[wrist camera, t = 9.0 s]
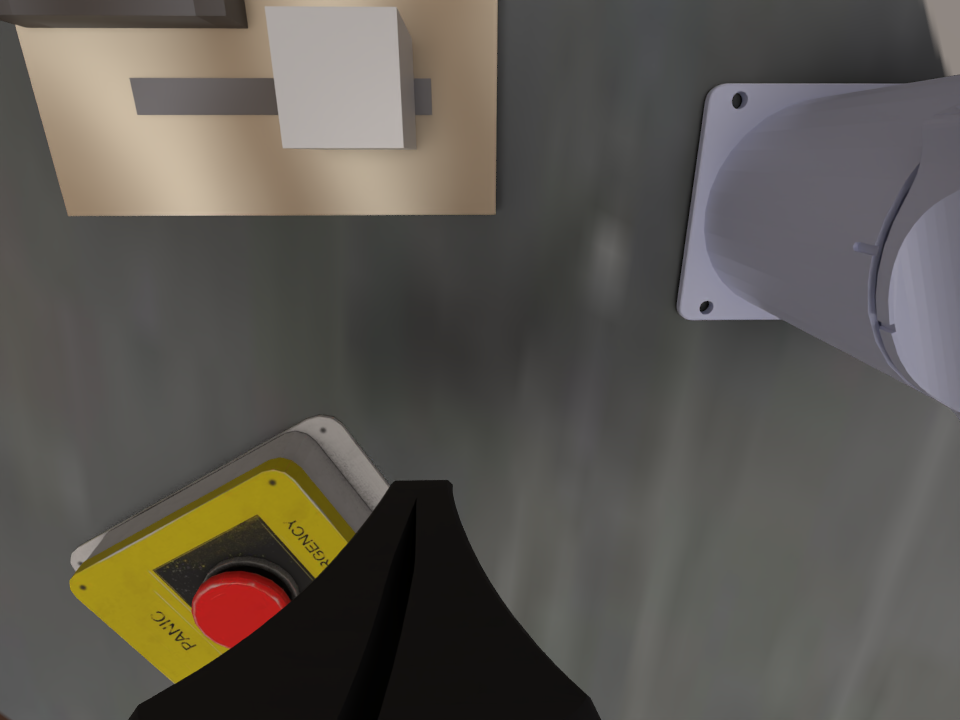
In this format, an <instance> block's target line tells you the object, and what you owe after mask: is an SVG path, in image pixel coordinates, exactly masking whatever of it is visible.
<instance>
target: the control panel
mask: <svg viewBox="0 0 960 720" xmlns="http://www.w3.org/2000/svg"><path fill="white" fill-rule="evenodd" d="M265 6H308V7H397V9H398V11H399V13H400V15H401V17H402V19H403V21H404V23H405V25H406V27H407V29H408V32H409V34H410V36H411V38H412V51H413V75H414V99H415V123H416V147H417V150H313V149H289V148H283V146H282V138H281V131H280V123H279V115H278V107H277V99H276V92H275V84H274V76H273V68H272V60H271V52H270V45H269V37H268V29H267V21H266V13H265ZM497 8H498V0H0V20H1V21H5V22H8V23H11V24H15V26H16V30H17V33H18V37H19V40H20V44H21V48H22V51H23V55H24V58H25V62H26V65H27V69H28V73H29V76H30V80H31V83H32V87H33V91H34V94H35V98H36V101H37V105H38V109H39V112H40V116H41V119H42V123H43V127H44V130H45V134H46V137H47V141H48V145H49V148H50V152H51V155H52V159H53V163H54V166H55V170H56V173H57V177H58V181H59V184H60V188H61V191H62V195H63V198H64V202H65V206H66V209H67V213H68V216H209V215H496V115H497Z"/></svg>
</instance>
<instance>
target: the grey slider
mask: <svg viewBox="0 0 960 720" xmlns="http://www.w3.org/2000/svg"><path fill="white" fill-rule="evenodd" d="M265 13H266V21H267V29H268V37H269V45H270V52H271V60H272V68H273V76H274V84H275V92H276V99H277V107H278V115H279V123H280V131H281V138H282V146H283V148H289V149H313V150H417V147H416V123H415V99H414V75H413V51H412V38H411V36H410V34H409V32H408V29H407V27H406V25H405V23H404V21H403V19H402V17H401V15H400V13H399V11H398V9H397V7H308V6H265Z"/></svg>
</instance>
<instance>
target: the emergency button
mask: <svg viewBox="0 0 960 720" xmlns="http://www.w3.org/2000/svg"><path fill="white" fill-rule="evenodd" d="M389 487H390V485H389V483H388V482H387V481H386V480H385V478H384V477H383V476H382V474H381V473H380V472H379V470H378V469H377V468H376V467H375V465H374V464H373V463H372V461H371V460H370V459H369V457H368V456H367V455H366V453H365V452H364V451H363V450H362V448H361V447H360V446H359V444H358V443H357V442H356V440H355V439H354V438H353V437H352V435H351V434H350V433H349V431H348V430H347V429H346V427H345V426H344V425H343V424H342V423H341V422H340V421H338V420H337V419H336V418H334V417H332V416H326V415H317V416H314V417H310V418H307V419H305V420H303V421H302V422H300V423H298V424H296V425H295V426H293V427H291V428H289V429H287V430H286V431H284V432H282V433H280V434H278V435H277V436H275V437H273V438H271V439H270V440H268V441H266V442H264V443H262V444H261V445H259V446H257V447H255V448H253V449H252V450H250V451H248V452H246V453H245V454H243V455H241V456H239V457H237V458H236V459H234V460H232V461H230V462H228V463H227V464H225V465H223V466H221V467H219V468H218V469H216V470H214V471H212V472H211V473H209V474H207V475H205V476H203V477H202V478H200V479H198V480H196V481H194V482H193V483H191V484H189V485H187V486H186V487H184V488H182V489H180V490H178V491H177V492H175V493H173V494H171V495H169V496H168V497H166V498H164V499H162V500H161V501H159V502H157V503H155V504H153V505H152V506H150V507H148V508H146V509H144V510H143V511H141V512H139V513H137V514H135V515H134V516H132V517H130V518H128V519H127V520H125V521H123V522H121V523H119V524H118V525H116V526H114V527H112V528H110V529H109V530H107V531H105V532H103V533H102V534H100V535H98V536H96V537H94V538H93V539H91V540H89V541H87V542H85V543H84V544H82V545H80V546H79V547H78V548H77V549H76V550H75V551H74V552H73V553H72V554H71V565H72V566H73V568H74V569H75V571H76V572H75V574H74V575H73V577H72V578H71V579H70V590H71V591H72V592H73V593H74V595H75V596H76V597H77V598H78V599H79V600H80V601H81V602H82V603H83V604H84V605H86V606H87V607H88V608H89V609H90V610H91V611H92V612H94V613H95V614H96V615H97V616H98V617H99V618H100V619H102V620H103V621H104V622H105V623H106V624H107V625H108V626H109V627H111V628H112V629H113V630H114V631H115V632H116V633H117V634H119V635H120V636H121V637H122V638H123V639H124V640H125V641H127V642H128V643H129V644H130V645H131V646H132V647H133V648H134V649H136V650H137V651H138V652H139V653H140V654H141V655H142V656H144V657H145V658H146V659H147V660H148V661H149V662H150V663H152V664H153V665H154V666H155V667H156V668H157V669H158V670H159V671H161V672H162V673H163V674H164V675H165V676H166V677H167V678H169V679H170V680H171V681H172V682H173V683H174V684H175V683H177V682H179V681H180V680H182V679H184V678H185V677H187V676H189V675H190V674H192V673H194V672H196V671H197V670H199V669H200V668H202V667H203V666H205V665H206V664H208V663H210V662H211V661H213V660H214V659H216V658H217V657H219V656H220V655H222V654H223V653H224V652H226V651H227V650H229V649H230V648H232V647H233V646H235V645H236V644H238V643H239V642H240V641H242V640H243V639H244V638H246V637H247V636H249V635H250V634H251V633H253V632H254V631H255V630H257V629H258V628H259V627H261V626H262V625H263V624H264V623H265V622H267V621H268V620H269V619H270V618H272V617H273V616H274V615H275V614H277V613H278V612H279V611H280V610H281V609H283V608H284V607H285V606H286V605H287V604H288V603H290V602H291V601H292V600H293V599H294V598H295V597H296V596H298V595H299V594H300V593H301V592H302V591H303V590H304V589H305V588H306V587H307V586H308V585H309V584H310V583H311V582H312V581H313V580H314V579H315V578H316V577H317V576H318V575H319V574H320V573H321V572H322V571H323V570H324V569H325V568H326V567H327V566H328V565H329V564H330V563H331V562H332V560H333V559H334V558H335V557H336V556H337V555H338V554H339V552H340V551H341V550H342V549H343V548H344V547H345V546H346V545H347V543H348V542H349V541H350V540H351V539H352V537H353V536H354V535H355V534H356V532H357V531H358V530H359V529H360V527H361V526H362V525H363V523H364V522H365V521H366V520H367V518H368V517H369V516H370V514H371V513H372V512H373V510H374V509H375V507H376V506H377V505H378V503H379V502H380V500H381V499H382V497H383V496H384V494H385V493H386V491H387V490H388V488H389Z"/></svg>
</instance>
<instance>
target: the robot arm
mask: <svg viewBox="0 0 960 720" xmlns="http://www.w3.org/2000/svg"><path fill="white" fill-rule="evenodd" d="M736 93H739V94H740V95H741V97H742V103H741V106H740V107H739V108H738V109H735V108H734V107H733V105H732V98H733V96H734V95H735V94H736ZM704 301H709V306H708V308H707V309H706V310H705V311H702V312H700V309H699V307H700V305H701V304H702V303H703V302H704ZM677 311H678V313H679V315H681V316H682V317H683V318H685V319H687V320H784V321H786V322H787V323H789V324H791V325H793V326H795V327H797V328H799V329H801V330H803V331H805V332H807V333H808V334H810V335H812V336H814V337H816V338H818V339H820V340H822V341H824V342H826V343H828V344H829V345H831V346H833V347H835V348H837V349H839V350H841V351H843V352H845V353H847V354H849V355H851V356H852V357H854V358H856V359H858V360H860V361H862V362H864V363H866V364H868V365H870V366H872V367H873V368H875V369H877V370H879V371H881V372H883V373H885V374H887V375H889V376H891V377H893V378H895V379H896V380H898V381H900V382H902V383H904V384H906V385H908V386H910V387H912V388H914V389H916V390H917V391H919V392H921V393H923V394H925V395H927V396H930V397H931V398H933V399H935V400H937V401H939V402H941V403H942V404H944V405H946V406H947V407H949V408H950V409H951V410H952V411H953V412H954V413H955V414H956V416H957V417H958V419H959V421H960V75H954V76H948V77H942V78H936V79H930V80H924V81H918V82H912V83H906V84H875V83H726V84H721V85H717V86H715V87H714V88H713V89H711V90H710V92H709V93H708V94H707V97H706V100H705V105H704V112H703V120H702V127H701V134H700V141H699V148H698V155H697V163H696V170H695V177H694V184H693V191H692V198H691V206H690V213H689V220H688V227H687V234H686V241H685V248H684V256H683V263H682V270H681V277H680V284H679V291H678V299H677ZM128 720H601V718H600V716H599V714H598V712H597V710H596V708H595V706H594V704H593V702H592V700H591V698H590V697H589V696H588V695H587V694H586V693H584V692H583V691H582V690H581V689H580V688H579V687H578V686H577V685H576V684H575V683H574V682H573V681H571V680H570V679H569V678H568V677H567V676H566V675H565V674H564V673H563V672H562V671H561V670H560V669H559V668H558V667H557V666H556V665H555V664H554V663H553V661H552V660H551V659H550V658H549V657H548V656H547V655H546V654H545V653H544V652H543V651H542V650H541V649H540V647H539V646H538V645H537V644H536V643H535V642H534V640H533V639H532V638H531V637H530V636H529V634H528V633H527V632H526V631H525V629H524V628H523V627H522V626H521V624H520V623H519V622H518V621H517V620H516V618H515V617H514V616H513V615H512V613H511V612H510V610H509V609H508V608H507V606H506V605H505V603H504V602H503V601H502V599H501V598H500V596H499V595H498V593H497V592H496V590H495V588H494V587H493V585H492V584H491V582H490V581H489V579H488V577H487V575H486V574H485V572H484V570H483V568H482V567H481V565H480V563H479V561H478V559H477V557H476V555H475V553H474V551H473V549H472V547H471V545H470V543H469V541H468V538H467V536H466V533H465V531H464V529H463V526H462V524H461V521H460V518H459V515H458V512H457V509H456V506H455V502H454V497H453V484H451V483H450V482H449V481H448V480H417V481H394V482H393V483H392V484H391V485H390V487H389V488H388V490H387V491H386V493H385V494H384V496H383V497H382V499H381V500H380V502H379V503H378V505H377V506H376V507H375V509H374V510H373V512H372V513H371V514H370V516H369V517H368V518H367V520H366V521H365V522H364V523H363V525H362V526H361V527H360V529H359V530H358V531H357V532H356V534H355V535H354V536H353V537H352V539H351V540H350V541H349V542H348V543H347V545H346V546H345V547H344V548H343V549H342V550H341V551H340V552H339V554H338V555H337V556H336V557H335V558H334V559H333V560H332V562H331V563H330V564H329V565H328V566H327V567H326V568H325V569H324V570H323V571H322V572H321V573H320V574H319V575H318V576H317V577H316V578H315V579H314V580H313V581H312V582H311V583H310V584H309V585H308V586H307V587H306V588H305V589H304V590H303V591H302V592H301V593H300V594H299V595H298V596H296V597H295V598H294V599H293V600H292V601H291V602H290V603H288V604H287V605H286V606H285V607H284V608H283V609H281V610H280V611H279V612H278V613H277V614H275V615H274V616H273V617H272V618H270V619H269V620H268V621H267V622H265V623H264V624H263V625H262V626H261V627H259V628H258V629H257V630H255V631H254V632H253V633H251V634H250V635H249V636H247V637H246V638H244V639H243V640H242V641H240V642H239V643H238V644H236V645H235V646H233V647H232V648H230V649H229V650H227V651H226V652H224V653H223V654H222V655H220V656H219V657H217V658H216V659H214V660H213V661H211V662H210V663H208V664H206V665H205V666H203V667H202V668H200V669H199V670H197V671H196V672H194V673H192V674H190V675H189V676H187V677H185V678H184V679H182V680H180V681H179V682H177V683H175V684H174V685H172V686H170V687H169V688H167V689H165V690H164V691H162V692H160V693H158V694H157V695H155V696H153V697H152V698H150V699H148V700H146V701H145V702H143V703H141V704H139V705H138V706H137V708H136V709H135V711H134V712H133V714H132V715H131V716H130V718H129V719H128Z"/></svg>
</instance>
